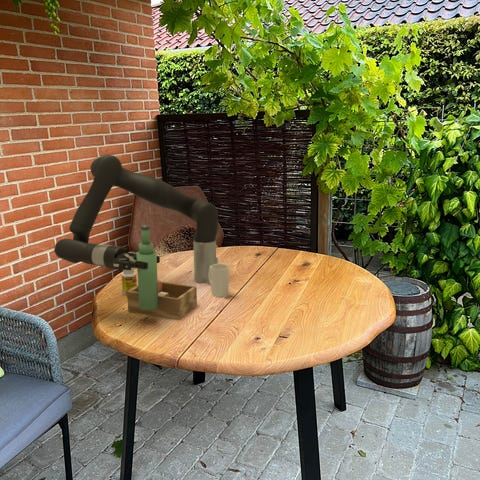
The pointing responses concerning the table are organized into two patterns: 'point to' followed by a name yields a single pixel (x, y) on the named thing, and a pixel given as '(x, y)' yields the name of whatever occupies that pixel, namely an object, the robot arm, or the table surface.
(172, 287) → the crate
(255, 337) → the table surface
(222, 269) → the mug
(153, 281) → the green bottle
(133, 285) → the supplement bottle
